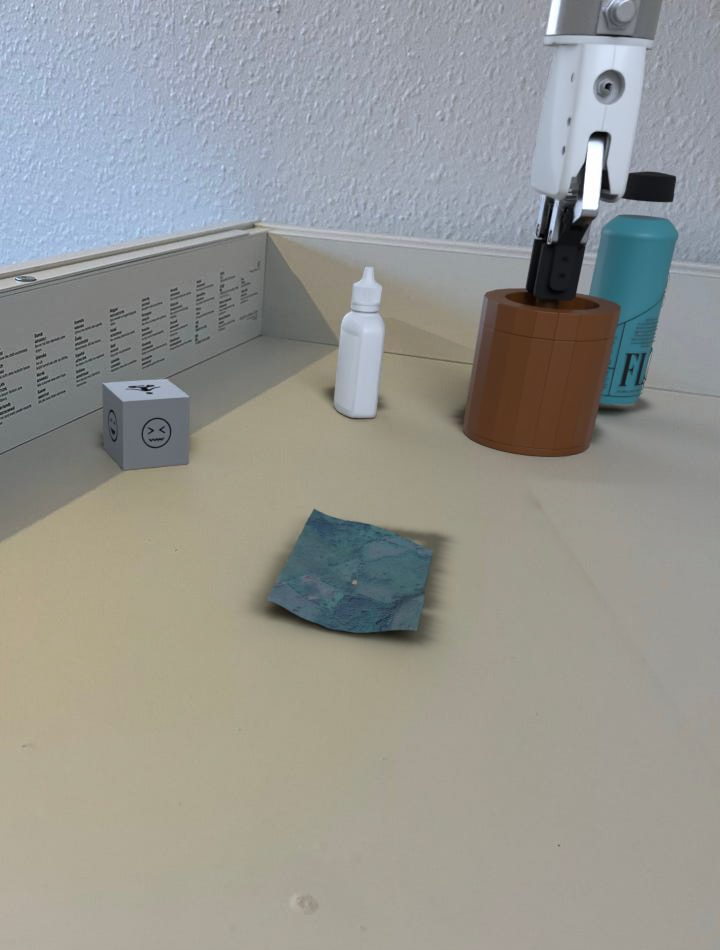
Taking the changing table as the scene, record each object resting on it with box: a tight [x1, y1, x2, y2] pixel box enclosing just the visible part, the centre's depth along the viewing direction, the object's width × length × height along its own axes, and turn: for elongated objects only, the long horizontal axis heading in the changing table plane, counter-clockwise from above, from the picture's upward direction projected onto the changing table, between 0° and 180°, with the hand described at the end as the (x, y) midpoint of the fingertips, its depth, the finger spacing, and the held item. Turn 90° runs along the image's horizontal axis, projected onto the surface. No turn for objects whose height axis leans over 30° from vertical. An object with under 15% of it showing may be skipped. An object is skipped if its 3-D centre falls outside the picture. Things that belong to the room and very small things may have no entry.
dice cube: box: [101, 378, 191, 471], centre depth 73 cm, size 5×5×5 cm
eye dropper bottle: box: [333, 266, 386, 419], centre depth 84 cm, size 4×6×12 cm
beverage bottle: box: [588, 170, 679, 406], centre depth 86 cm, size 6×7×20 cm
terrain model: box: [266, 508, 434, 634], centre depth 55 cm, size 13×8×2 cm, turn 165°
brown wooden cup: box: [462, 287, 621, 457], centre depth 80 cm, size 10×10×11 cm
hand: (549, 294), depth 78 cm, fingers closed
